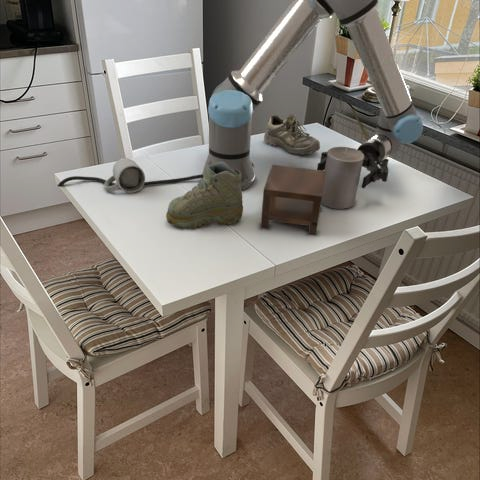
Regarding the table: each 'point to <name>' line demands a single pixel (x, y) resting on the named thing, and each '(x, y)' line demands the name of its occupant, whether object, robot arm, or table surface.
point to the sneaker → (209, 199)
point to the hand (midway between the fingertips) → (340, 175)
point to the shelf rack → (293, 196)
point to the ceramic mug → (126, 176)
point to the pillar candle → (341, 177)
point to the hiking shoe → (290, 136)
